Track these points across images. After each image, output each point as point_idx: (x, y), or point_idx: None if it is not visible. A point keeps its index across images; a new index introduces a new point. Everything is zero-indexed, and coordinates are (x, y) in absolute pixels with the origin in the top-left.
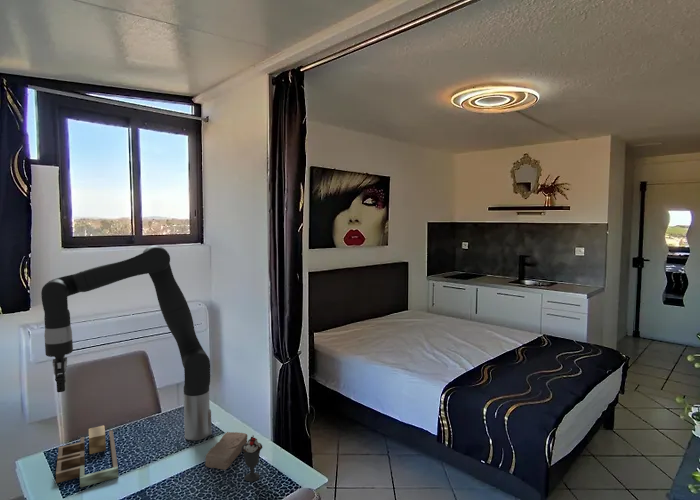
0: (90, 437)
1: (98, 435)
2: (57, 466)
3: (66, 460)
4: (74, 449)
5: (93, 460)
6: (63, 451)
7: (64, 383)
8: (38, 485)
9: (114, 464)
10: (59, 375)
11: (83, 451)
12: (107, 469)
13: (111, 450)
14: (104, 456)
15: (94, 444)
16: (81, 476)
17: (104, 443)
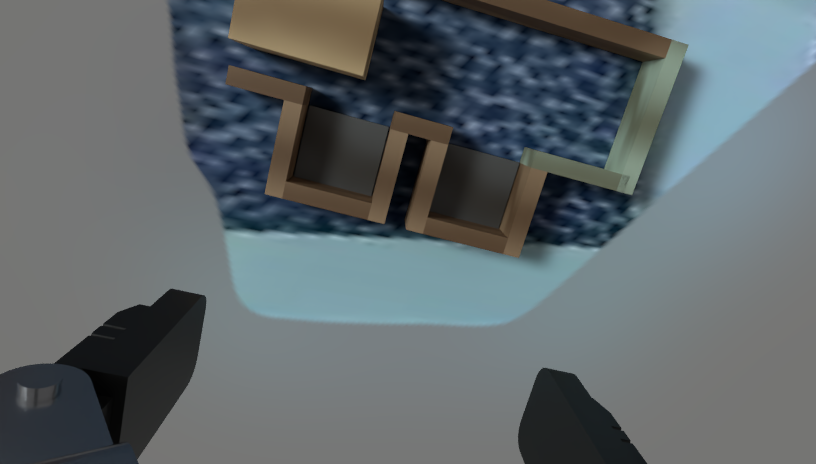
0: (358, 66)
1: (366, 23)
2: (457, 239)
3: (431, 198)
4: (299, 130)
5: (437, 84)
6: (289, 175)
7: (619, 440)
8: (471, 296)
9: (642, 45)
10: (141, 433)
11: (402, 117)
12: (658, 85)
13: (495, 6)
14: (439, 33)
15: (370, 53)
16: (622, 186)
17: (382, 5)
